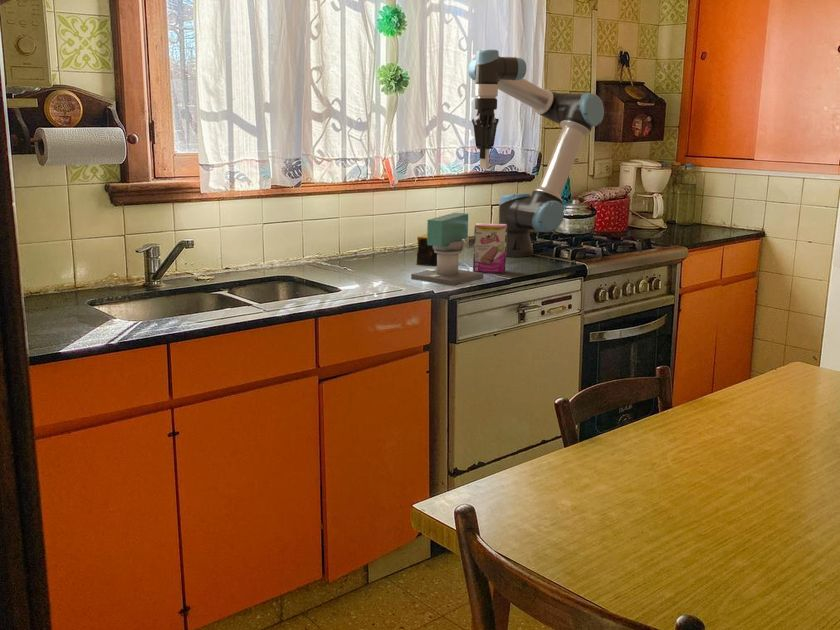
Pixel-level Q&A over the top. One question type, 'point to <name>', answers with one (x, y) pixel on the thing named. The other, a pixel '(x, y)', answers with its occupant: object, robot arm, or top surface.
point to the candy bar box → (490, 248)
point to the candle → (425, 252)
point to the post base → (448, 279)
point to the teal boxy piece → (447, 232)
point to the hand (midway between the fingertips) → (484, 168)
